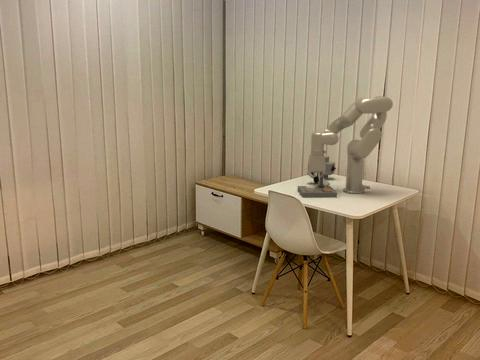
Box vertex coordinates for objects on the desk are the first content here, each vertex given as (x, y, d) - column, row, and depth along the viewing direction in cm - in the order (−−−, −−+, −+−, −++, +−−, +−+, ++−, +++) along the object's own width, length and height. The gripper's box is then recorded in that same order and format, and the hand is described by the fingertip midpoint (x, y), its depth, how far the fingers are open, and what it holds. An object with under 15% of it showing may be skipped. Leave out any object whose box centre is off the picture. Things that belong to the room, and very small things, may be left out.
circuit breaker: (332, 181, 314) (333, 158, 311) (312, 178, 322) (313, 156, 318) (336, 179, 320) (337, 157, 317) (317, 176, 328) (318, 155, 325)
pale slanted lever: (326, 184, 297) (308, 171, 301) (322, 192, 299) (303, 179, 304) (331, 182, 304) (313, 169, 309) (326, 189, 307) (308, 176, 311)
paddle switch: (323, 185, 287) (323, 176, 286) (324, 187, 283) (325, 177, 281) (317, 185, 287) (317, 176, 285) (318, 187, 282) (319, 177, 281)
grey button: (312, 190, 278) (313, 185, 278) (314, 192, 274) (314, 187, 274) (305, 190, 278) (305, 185, 278) (306, 192, 274) (307, 187, 273)
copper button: (329, 193, 279) (329, 188, 279) (331, 195, 275) (331, 190, 274) (322, 193, 279) (322, 188, 278) (323, 195, 275) (324, 190, 274)
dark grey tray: (330, 190, 289) (330, 185, 289) (336, 197, 274) (336, 192, 273) (297, 190, 288) (297, 185, 287) (302, 197, 273) (302, 192, 272)
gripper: (328, 151, 284) (326, 181, 288) (303, 152, 283) (302, 181, 287) (331, 154, 277) (329, 184, 281) (305, 154, 276) (304, 184, 280)
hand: (316, 183), depth 284 cm, fingers closed
